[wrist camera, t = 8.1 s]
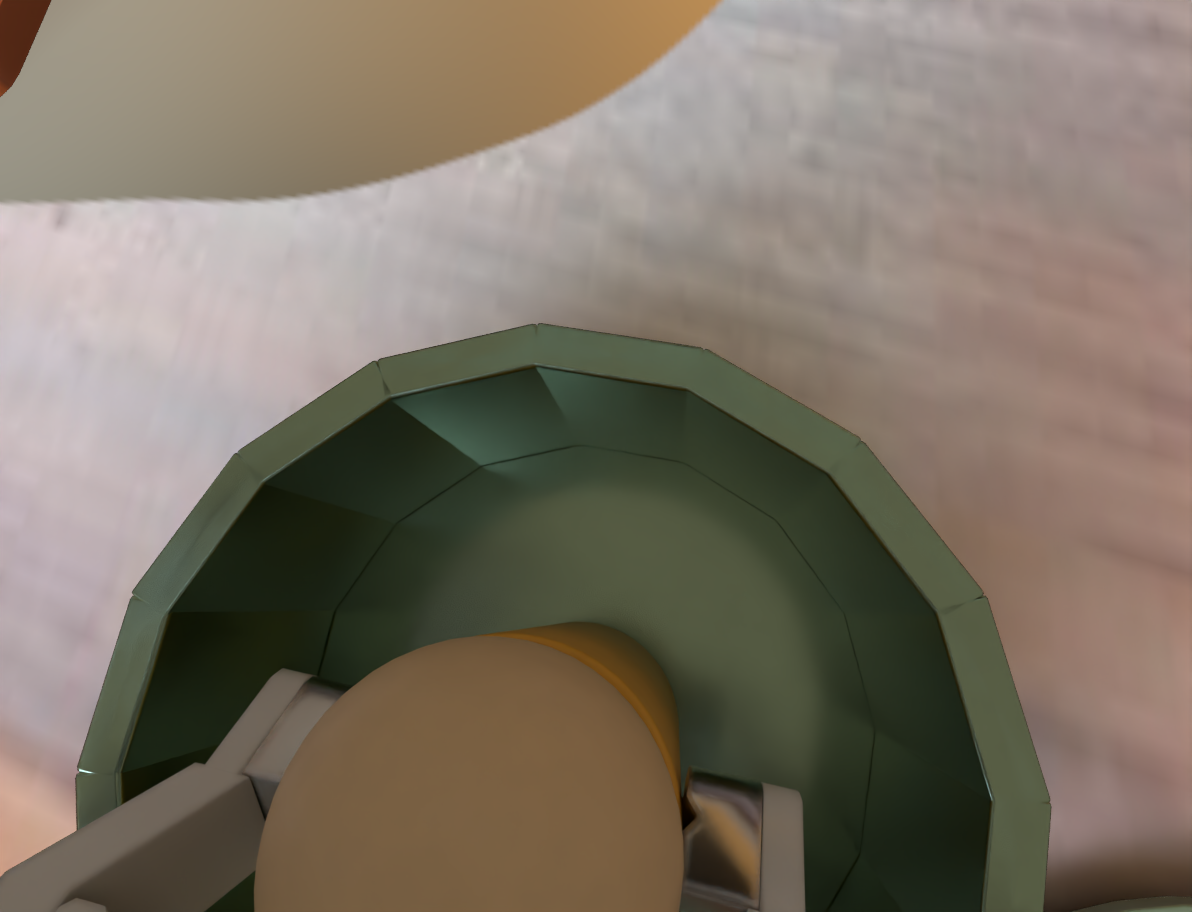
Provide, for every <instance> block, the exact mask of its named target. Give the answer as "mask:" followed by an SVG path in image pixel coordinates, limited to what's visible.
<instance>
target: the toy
mask: <svg viewBox="0 0 1192 912" xmlns="http://www.w3.org/2000/svg"><path fill="white" fill-rule="evenodd" d="M683 872H684V853H683V833H682V794H681V769H680V743H679V719H678V712H677V705H676V701H675V698H674V694H673V691H672V689H671V686H670V684H669V681H668V679H667V677H666V676H665V674H664V672H663V670H662V668H661V667H660V666H659V664H658V663H657V662H656V660H655V659H654V658H653V656H652V655H651V654H650V653H649V652H648V651H647V650H646V649H645V648H644V647H643V646H642V645H640V644H639V643H638V642H636V641H635V640H634V639H633V638H631V637H629V636H628V635H626V634H624V633H623V632H620V631H618V630H616V629H613V628H611V627H608V626H605V625H601V624H597V623H590V622H568V623H560V624H553V625H546V626H539V627H532V628H525V629H518V630H512V631H505V632H498V633H491V634H484V635H477V636H472V637H464V638H456V639H449V640H446V641H442V642H438V643H435V644H431V645H427V646H424V647H421V648H419V649H416V650H414V651H411V652H409V653H407V654H404V655H402V656H400V657H397V658H395V659H393V660H391V661H390V662H388V663H386V664H384V665H383V666H381V667H379V668H378V669H376V670H374V671H373V672H371V673H370V674H369V675H367V676H366V677H365V678H363V679H362V680H361V681H360V682H358V683H357V684H356V685H354V686H353V687H352V688H351V689H349V690H348V691H347V692H346V693H344V694H343V695H342V696H341V697H340V698H339V699H338V700H337V701H336V702H335V703H334V704H333V705H332V706H331V707H330V708H329V709H328V710H327V711H326V712H325V713H324V714H323V716H322V717H321V718H320V719H319V721H318V722H317V723H316V724H315V726H314V727H313V728H312V730H311V731H310V732H309V733H308V735H307V736H306V738H305V739H304V741H303V742H302V744H301V745H300V747H299V748H298V750H297V752H296V753H295V755H294V757H293V758H292V760H291V762H290V763H289V765H288V767H287V768H286V770H285V772H284V774H283V777H282V779H281V781H280V783H279V785H278V787H277V790H276V792H275V794H274V797H273V800H272V803H271V806H270V809H269V812H268V815H267V818H266V821H265V825H264V829H263V832H262V837H261V842H260V847H259V851H258V856H257V861H256V872H255V883H254V912H679V907H680V900H681V891H682V881H683Z"/></svg>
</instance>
